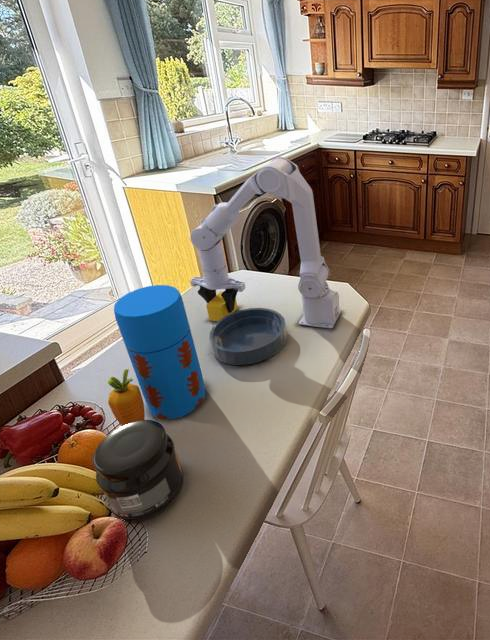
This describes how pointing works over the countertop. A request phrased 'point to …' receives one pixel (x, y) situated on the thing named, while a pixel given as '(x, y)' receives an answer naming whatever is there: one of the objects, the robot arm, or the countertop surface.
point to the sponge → (218, 308)
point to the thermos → (161, 350)
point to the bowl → (248, 336)
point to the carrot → (126, 400)
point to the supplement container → (138, 470)
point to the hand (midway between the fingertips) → (223, 309)
